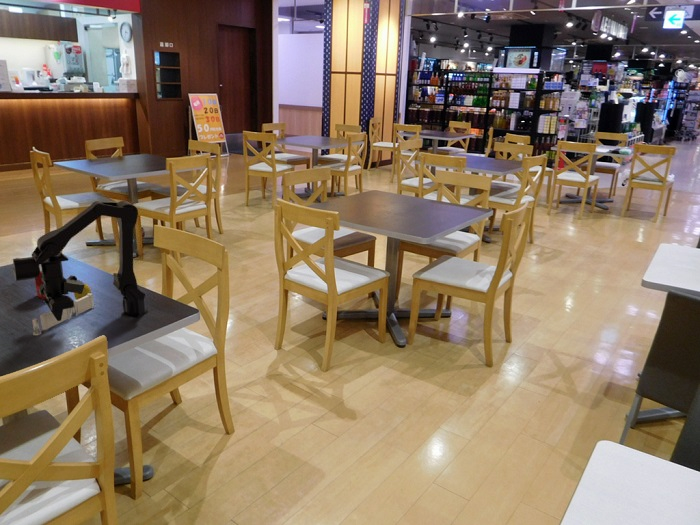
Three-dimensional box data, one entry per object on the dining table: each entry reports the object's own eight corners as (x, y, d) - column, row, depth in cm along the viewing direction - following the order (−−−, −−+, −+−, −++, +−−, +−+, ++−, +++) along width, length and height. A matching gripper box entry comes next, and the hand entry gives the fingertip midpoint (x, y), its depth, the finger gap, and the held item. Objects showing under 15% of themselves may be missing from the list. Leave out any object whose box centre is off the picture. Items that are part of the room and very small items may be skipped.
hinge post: (77, 315, 187) (75, 302, 186) (73, 317, 186) (72, 303, 184) (73, 314, 188) (72, 301, 186) (70, 316, 186) (68, 303, 185)
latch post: (43, 333, 174) (41, 318, 172) (37, 336, 172) (35, 321, 170) (37, 331, 175) (35, 317, 173) (31, 334, 172) (29, 320, 171)
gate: (67, 316, 185) (65, 303, 183) (70, 317, 185) (69, 304, 183) (41, 328, 175) (39, 315, 174) (45, 329, 175) (43, 316, 174)
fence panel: (94, 307, 194) (92, 294, 193) (79, 314, 188) (77, 300, 186) (90, 306, 195) (88, 293, 193) (75, 314, 188) (73, 300, 187)
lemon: (72, 304, 196) (69, 283, 194) (85, 299, 201) (83, 279, 198) (82, 307, 194) (79, 286, 191) (95, 302, 198) (93, 282, 196)
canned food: (43, 300, 198) (39, 272, 194) (33, 295, 202) (29, 267, 199) (64, 295, 204) (61, 267, 200) (54, 289, 208) (50, 262, 205)
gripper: (89, 279, 170) (94, 324, 175) (72, 262, 183) (77, 305, 188) (49, 286, 163) (55, 333, 168) (35, 268, 176) (41, 312, 181)
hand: (59, 320), depth 176 cm, fingers closed
